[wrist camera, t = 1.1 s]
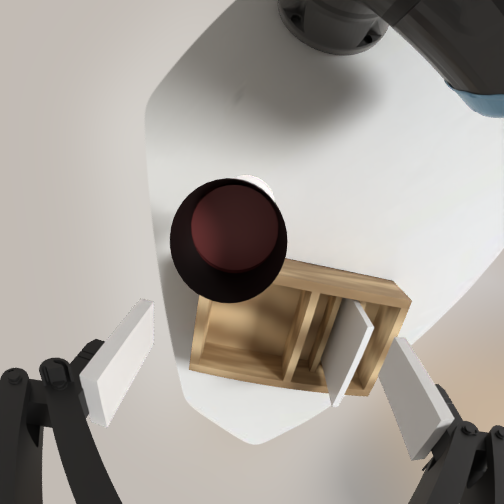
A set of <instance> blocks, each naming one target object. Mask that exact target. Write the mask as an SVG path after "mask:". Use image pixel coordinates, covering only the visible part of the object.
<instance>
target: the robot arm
mask: <svg viewBox="0 0 504 504" xmlns="http://www.w3.org/2000/svg"><path fill="white" fill-rule="evenodd" d="M278 7H279V12H280V16H281V18H282V20H283V22H284V24H285V25H286V27H287V28H288V29H289V31H290V32H291V33H292V34H293V35H294V36H295V37H297V38H298V39H299V40H301V41H302V42H304V43H305V44H307V45H309V46H311V47H313V48H315V49H317V50H320V51H323V52H326V53H331V54H338V55H351V54H357V53H361V52H364V51H366V50H368V49H370V48H371V47H373V46H374V45H375V44H376V43H377V42H378V41H379V40H380V39H381V38H382V37H383V36H384V34H385V33H386V31H387V29H388V26H389V25H390V26H391V27H392V28H393V29H394V30H395V31H396V32H397V33H399V34H400V35H401V36H402V37H403V38H404V39H405V40H406V41H407V42H408V43H409V44H410V45H412V46H413V47H414V48H415V49H416V50H417V51H418V52H419V53H420V54H421V55H422V56H423V57H424V58H425V59H426V60H427V61H428V62H429V63H430V64H431V65H432V67H433V68H434V69H435V70H436V71H437V72H438V73H439V74H440V75H441V76H442V77H443V78H444V81H445V83H446V84H447V85H448V87H450V88H451V89H452V90H453V91H455V92H456V93H457V94H458V95H459V96H460V97H461V98H462V99H463V101H464V102H465V103H466V104H467V105H468V106H469V107H470V108H471V109H472V110H473V111H475V112H478V113H479V114H482V115H483V116H487V117H493V118H504V0H279V2H278ZM153 344H154V302H153V301H150V300H145V299H140V300H139V301H138V302H137V304H136V305H135V306H134V307H133V308H132V310H131V311H130V312H129V313H128V315H127V316H126V317H125V318H124V319H123V321H122V322H121V323H120V324H119V325H118V327H117V328H116V329H115V330H114V331H113V333H112V334H111V335H110V336H109V338H108V339H107V340H106V341H101V340H98V339H95V340H93V341H91V342H89V343H87V345H86V346H85V347H84V348H83V349H82V351H81V352H80V353H79V354H78V355H77V356H76V357H75V359H74V360H73V361H72V362H71V363H70V364H69V363H68V362H67V361H66V360H64V359H61V358H50V359H47V360H45V361H44V362H43V363H42V364H41V365H40V368H39V372H40V375H41V379H42V381H40V380H33V379H29V377H28V374H27V373H26V371H24V370H23V369H20V368H11V369H9V370H7V371H5V372H4V373H3V375H2V376H1V379H0V504H43V500H42V446H43V429H44V427H51V428H53V432H54V436H55V440H56V443H57V447H58V450H59V454H60V457H61V461H62V464H63V467H64V470H65V473H66V476H67V479H68V482H69V485H70V488H71V491H72V493H73V496H74V498H75V501H76V504H122V502H121V500H120V498H119V497H118V494H117V492H116V490H115V488H114V486H113V484H112V482H111V480H110V478H109V476H108V473H107V471H106V469H105V467H104V465H103V462H102V460H101V457H100V455H99V452H98V450H97V448H96V445H95V442H94V440H93V438H92V435H91V432H90V429H89V427H88V424H87V421H86V418H87V416H88V414H89V416H90V419H91V422H92V423H95V424H98V425H101V426H103V427H106V428H107V427H108V426H109V424H110V422H111V420H112V418H113V416H114V414H115V412H116V411H117V409H118V407H119V405H120V403H121V401H122V400H123V398H124V396H125V394H126V392H127V390H128V389H129V387H130V385H131V383H132V382H133V380H134V378H135V376H136V374H137V373H138V371H139V369H140V367H141V366H142V364H143V362H144V360H145V358H146V357H147V355H148V353H149V351H150V350H151V348H152V346H153ZM378 377H379V379H380V382H381V384H382V386H383V388H384V391H385V393H386V396H387V398H388V400H389V403H390V406H391V408H392V411H393V413H394V416H395V418H396V421H397V423H398V426H399V428H400V431H401V434H402V437H403V439H404V442H405V445H406V447H407V450H408V452H409V455H410V458H411V460H418V459H425V457H426V456H427V455H428V454H429V452H430V451H432V454H433V457H432V458H431V460H430V461H429V462H428V463H427V464H426V466H425V467H424V468H423V469H422V470H423V471H424V470H425V469H426V470H425V472H424V474H423V476H422V478H421V480H420V483H419V484H418V486H417V488H416V490H415V492H414V494H413V496H412V498H411V499H410V502H409V503H408V504H459V503H460V504H504V427H502V426H497V425H496V426H494V427H493V428H492V429H491V430H490V432H489V433H487V432H479V431H478V428H477V427H476V426H475V425H474V424H472V423H471V422H468V421H463V420H462V418H461V417H460V415H459V413H458V411H457V410H456V408H455V406H454V405H453V404H452V401H451V399H450V398H449V396H448V395H447V393H446V392H445V390H444V389H443V388H442V387H441V386H440V385H438V384H434V382H433V381H432V379H431V377H430V376H429V374H428V372H427V371H426V369H425V368H424V366H423V364H422V363H421V361H420V360H419V358H418V356H417V355H416V353H415V352H414V350H413V349H412V347H411V345H410V344H409V342H408V341H407V339H406V338H402V337H394V339H393V341H392V344H391V346H390V349H389V351H388V353H387V356H386V358H385V360H384V363H383V365H382V367H381V369H380V371H379V374H378Z"/></svg>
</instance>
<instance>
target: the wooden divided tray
mask: <svg viewBox="0 0 504 504" xmlns="http://www.w3.org/2000/svg"><path fill="white" fill-rule="evenodd" d="M342 297H343V298H348V299H354V300H358V301H359V303H360V305H361V306H362V308H363V309H364V311H365V313H366V314H367V316H368V318H369V319H370V321H371V323H372V324H373V326H374V329H373V332H372V334H371V337H370V339H369V342H368V344H367V346H366V349H365V351H364V353H363V355H362V358H361V360H360V362H359V364H358V366H357V369H356V371H355V373H354V375H353V377H352V379H351V381H350V384H349V386H348V388H347V390H346V392H345V394H344V395H355V396H368V395H369V393H370V391H371V389H372V388H373V386H374V384H375V382H376V380H377V378H378V374H379V371H380V369H381V367H382V365H383V363H384V360H385V358H386V356H387V353H388V351H389V349H390V346H391V344H392V341H393V339H394V337H397V336H398V334H399V331H400V329H401V327H402V324H403V322H404V319H405V317H406V315H407V312H408V310H409V307H410V305H411V302H412V300H411V299H410V298H409V297H408V296H407V295H406V294H405V293H404V292H403V291H402V290H401V289H400V288H399V287H398V286H397V285H396V283H395V282H394V281H391V280H387V279H382V278H377V277H372V276H368V275H363V274H358V273H353V272H349V271H344V270H339V269H334V268H330V267H325V266H320V265H315V264H310V263H306V262H301V261H296V260H291V259H287V258H285V261H284V264H283V266H282V268H281V271H280V272H279V274H278V276H277V277H276V279H275V280H274V281H273V283H272V284H271V285H270V286H269V287H268V288H267V289H266V290H265V291H264V292H262V293H261V294H259V295H257V296H256V297H254V298H252V299H249V300H247V301H243V302H239V303H219V302H215V301H211V300H209V299H206V298H204V297H202V296H201V295H199V300H198V307H197V314H196V321H195V328H194V335H193V342H192V350H191V357H190V365H189V370H192V371H197V372H201V373H206V374H210V375H215V376H220V377H224V378H229V379H234V380H240V381H245V382H251V383H256V384H262V385H269V386H275V387H282V388H289V389H296V390H304V391H312V392H321V393H329V392H328V388H327V384H326V379H325V375H324V371H323V367H322V363H321V356H322V353H323V351H324V348H325V345H326V343H327V340H328V337H329V335H330V332H331V329H332V326H333V324H334V321H335V318H336V315H337V312H338V309H339V306H340V303H341V300H342Z"/></svg>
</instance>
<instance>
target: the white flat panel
mask: <svg viewBox="0 0 504 504" xmlns="http://www.w3.org/2000/svg"><path fill="white" fill-rule="evenodd" d="M373 329H374V326H373V324H372V323H371V321H370V319H369V318H368V316H367V314H366V313H365V311H364V309H363V308H362V306H361V305H360V303H359V301H358V300H354V299H348V298H343V297H342V300H341V303H340V306H339V309H338V312H337V315H336V318H335V321H334V324H333V326H332V329H331V332H330V335H329V337H328V340H327V343H326V345H325V348H324V351H323V353H322V356H321V363H322V367H323V371H324V375H325V379H326V384H327V388H328V392H329V396H330V400H331V405H332V407H338V406H339V404H340V402H341V400H342V398H343V396H344V394H345V392H346V390H347V388H348V386H349V384H350V381H351V379H352V377H353V375H354V373H355V371H356V369H357V366H358V364H359V362H360V360H361V358H362V355H363V353H364V351H365V349H366V346H367V344H368V342H369V339H370V337H371V334H372V332H373Z"/></svg>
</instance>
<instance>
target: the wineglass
mask: <svg viewBox="0 0 504 504" xmlns="http://www.w3.org/2000/svg"><path fill="white" fill-rule="evenodd" d="M170 249H171V255H172V259H173V262H174V265H175V267H176V269H177V271H178V273H179V275H180V276H181V278H182V279H183V281H184V282H185V283H186V284H187V285H188V286H189V287H190V288H191V289H192V290H193V291H195V292H196V293H197V294H199V295H201V296H202V297H204V298H206V299H209V300H211V301H215V302H219V303H239V302H243V301H247V300H249V299H252V298H254V297H256V296H257V295H259V294H261V293H262V292H264V291H265V290H266V289H267V288H268V287H269V286H270V285H271V284H272V283H273V281H274V280H275V279H276V277H277V276H278V274H279V272H280V271H281V268H282V266H283V264H284V261H285V257H286V252H287V231H286V226H285V222H284V220H283V217H282V214H281V212H280V210H279V208H278V207H277V205H276V203H275V199H274V196H273V193H272V190H271V189H270V187H269V186H268V185H267V184H266V183H265V182H264V181H263V180H261V179H260V178H258V177H255V176H251V175H239V176H236V177H234V178H225V179H219V180H214V181H211V182H208V183H206V184H204V185H202V186H200V187H198V188H197V189H195V190H194V191H193V192H192V193H190V194H189V195H188V196H187V197H186V199H185V200H184V201H183V202H182V204H181V205H180V207H179V208H178V210H177V212H176V214H175V217H174V219H173V223H172V226H171V233H170Z"/></svg>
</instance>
